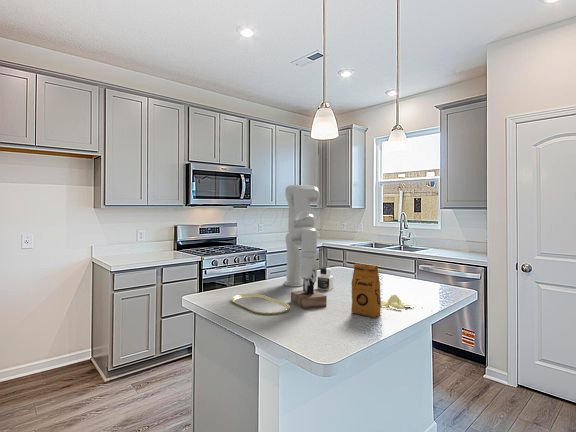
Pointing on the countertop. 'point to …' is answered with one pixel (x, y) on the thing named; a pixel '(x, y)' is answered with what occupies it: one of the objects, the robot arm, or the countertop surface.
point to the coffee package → (366, 290)
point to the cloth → (394, 302)
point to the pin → (306, 287)
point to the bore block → (308, 299)
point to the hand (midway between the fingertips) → (308, 291)
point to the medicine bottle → (325, 279)
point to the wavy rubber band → (264, 298)
